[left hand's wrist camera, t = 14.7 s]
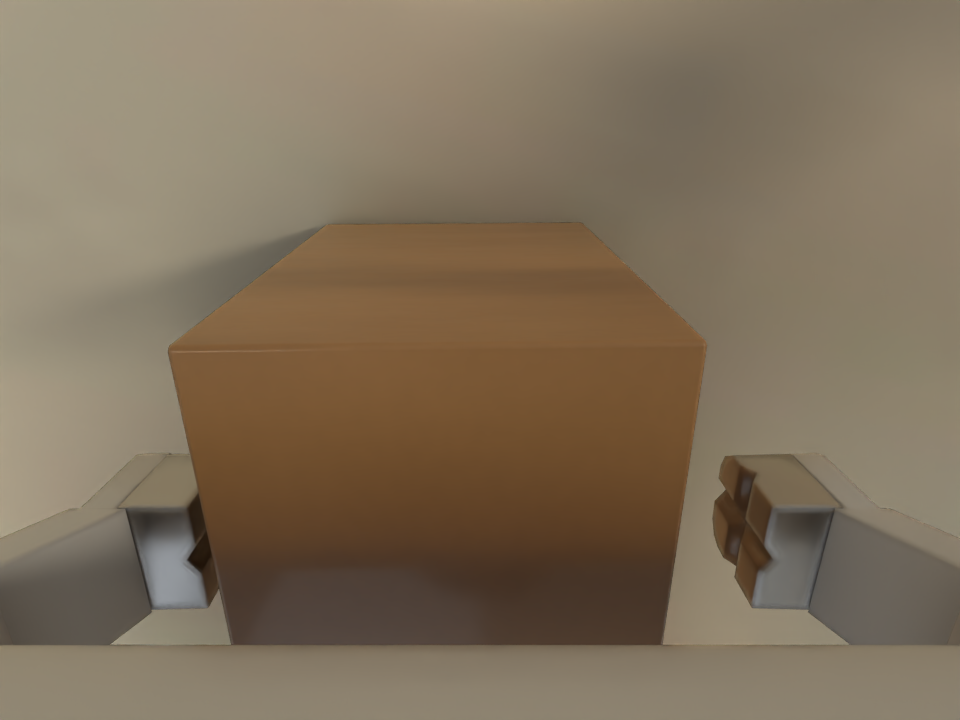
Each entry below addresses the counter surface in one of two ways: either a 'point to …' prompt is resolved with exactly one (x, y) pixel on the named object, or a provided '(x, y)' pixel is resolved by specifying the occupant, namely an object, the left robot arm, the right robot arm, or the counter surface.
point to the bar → (442, 440)
